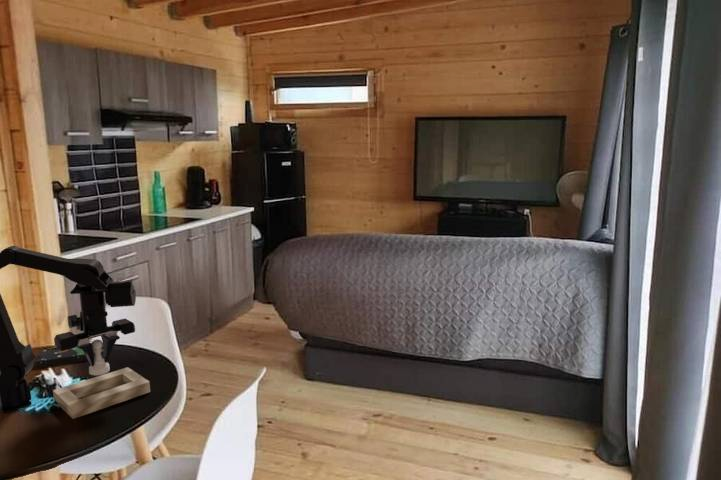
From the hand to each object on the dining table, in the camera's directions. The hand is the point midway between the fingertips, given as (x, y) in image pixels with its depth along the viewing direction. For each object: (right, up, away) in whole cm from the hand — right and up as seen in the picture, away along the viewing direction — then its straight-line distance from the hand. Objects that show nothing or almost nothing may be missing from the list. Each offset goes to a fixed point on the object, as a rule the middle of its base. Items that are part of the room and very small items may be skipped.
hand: (98, 364), depth 146 cm
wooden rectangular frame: (0, -9, +2) cm, 9 cm away
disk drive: (-24, -5, +28) cm, 37 cm away
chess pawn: (0, -2, +1) cm, 2 cm away
